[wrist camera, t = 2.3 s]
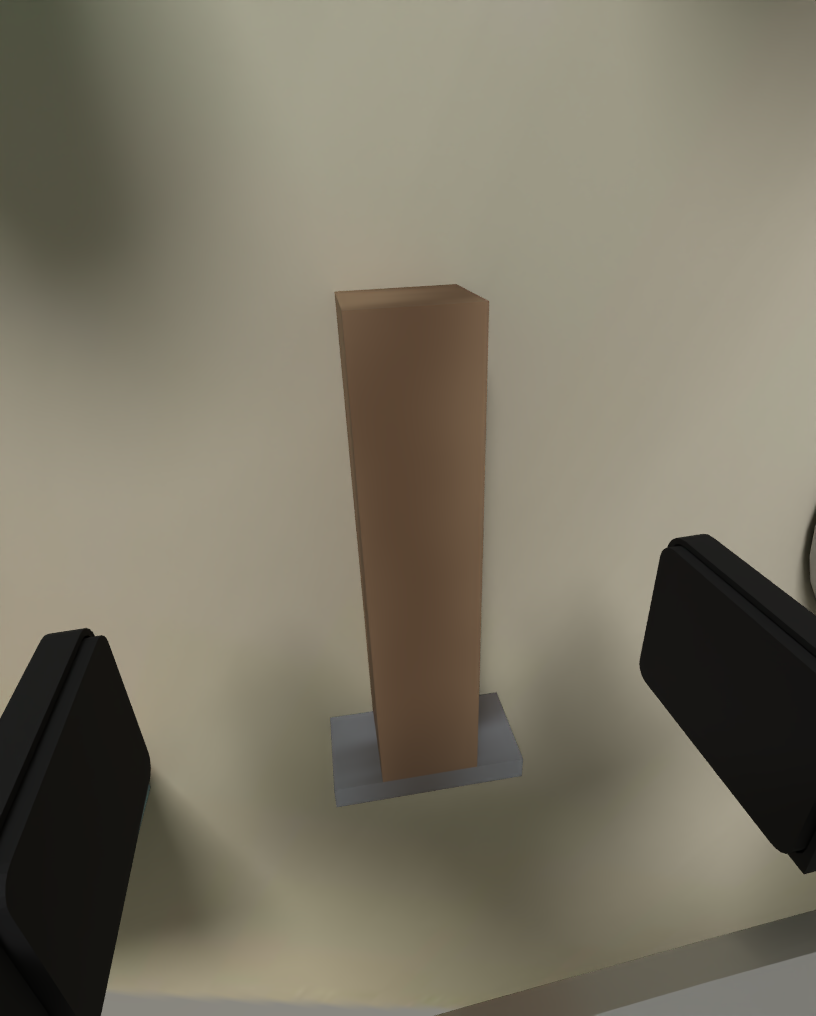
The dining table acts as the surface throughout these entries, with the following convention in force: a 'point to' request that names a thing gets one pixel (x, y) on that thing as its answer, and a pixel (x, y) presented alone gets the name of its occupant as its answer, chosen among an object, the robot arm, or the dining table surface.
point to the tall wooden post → (418, 543)
